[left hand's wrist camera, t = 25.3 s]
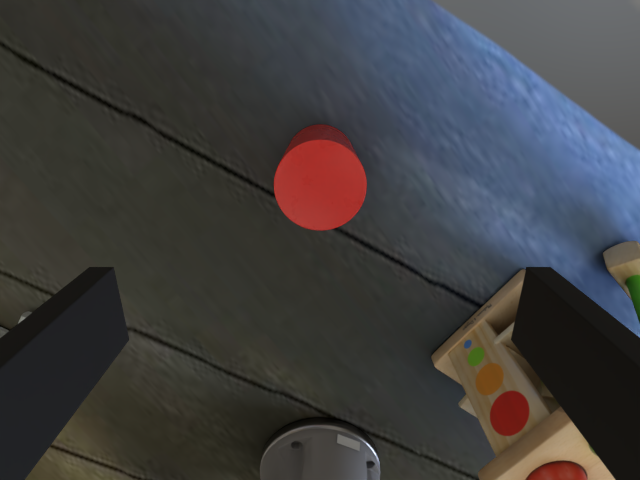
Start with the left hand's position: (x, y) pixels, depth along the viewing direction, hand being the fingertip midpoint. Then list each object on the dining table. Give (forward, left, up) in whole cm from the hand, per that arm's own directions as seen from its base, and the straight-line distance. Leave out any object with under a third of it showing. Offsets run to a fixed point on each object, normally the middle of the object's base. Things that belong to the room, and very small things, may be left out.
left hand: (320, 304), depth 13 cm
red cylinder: (0, 0, -26) cm, 26 cm away
